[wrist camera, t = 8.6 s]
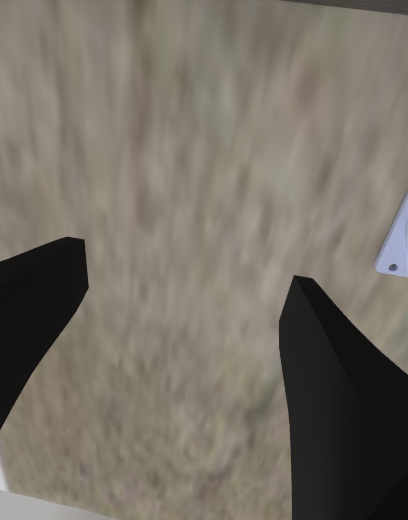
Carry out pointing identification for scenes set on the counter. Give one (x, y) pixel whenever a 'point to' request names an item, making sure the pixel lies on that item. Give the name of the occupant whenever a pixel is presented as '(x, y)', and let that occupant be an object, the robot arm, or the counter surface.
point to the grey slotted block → (364, 4)
